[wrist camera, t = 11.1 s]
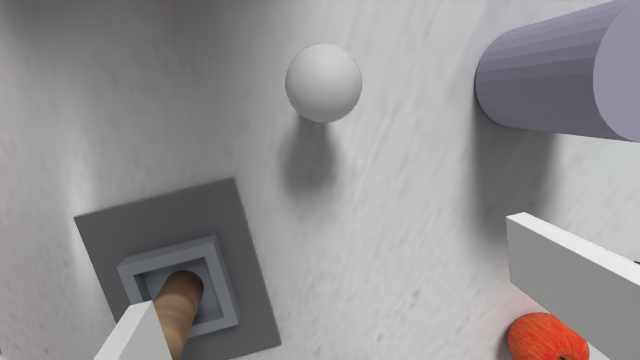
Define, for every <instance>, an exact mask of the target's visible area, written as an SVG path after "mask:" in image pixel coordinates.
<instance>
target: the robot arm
mask: <svg viewBox="0 0 640 360" xmlns="http://www.w3.org/2000/svg"><path fill="white" fill-rule="evenodd" d="M506 228H507V243H508V257H509V271H510V282H511V283H513V284H514V285H515V286H516V287H518V288H519V289H520V290H522V291H523V292H524V293H526V294H527V295H528V296H529V297H531V298H532V299H533V300H535V301H536V302H537V303H538V304H540V305H541V306H542V307H544V308H545V309H546V310H547V311H549V312H550V313H551V314H553V315H554V316H555V317H556V318H558V319H559V320H560V321H562V322H563V323H564V324H565V325H567V326H568V327H569V328H571V329H572V330H573V331H574V332H576V333H577V334H578V335H580V336H581V337H582V338H583V339H585V340H586V341H587V342H589V343H590V344H591V345H592V346H594V347H595V348H596V349H598V350H599V351H600V352H602V353H603V354H604V355H605V356H607V357H608V358H609V359H611V360H640V262H636V261H634V262H632V261H630V260H628V259H626V258H624V257H621V256H619V255H617V254H615V253H613V252H611V251H608V250H606V249H604V248H602V247H600V246H597V245H595V244H593V243H591V242H589V241H587V240H584V239H582V238H580V237H578V236H576V235H573V234H571V233H569V232H567V231H565V230H563V229H560V228H558V227H556V226H554V225H552V224H549V223H547V222H545V221H543V220H541V219H539V218H536V217H534V216H532V215H530V214H528V213H525V212H523V213H519V214H515V215H510V216H506ZM93 360H172V357H171V354H170V351H169V349H168V346H167V343H166V340H165V337H164V334H163V331H162V328H161V325H160V322H159V319H158V316H157V313H156V311H155V308H154V305H153V302H152V300H151V301H147V302H143V303H138V304H134V305H130V306H129V307H128V309H127V310H126V312H125V313H124V315H123V316H122V318H121V319H120V320H119V322H118V323H117V325H116V326H115V328H114V329H113V331H112V332H111V334H110V335H109V337H108V338H107V340H106V341H105V343H104V344H103V346H102V347H101V349H100V350H99V352H98V353H97V355H96V356H95V358H94V359H93Z"/></svg>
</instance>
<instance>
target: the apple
mask: <svg viewBox="0 0 640 360" xmlns="http://www.w3.org/2000/svg"><path fill="white" fill-rule="evenodd" d="M508 345H509V349H510V352H511V355H512V357H513V359H514V360H589V347H588V344H587V342H586V340H585V339H583V338H582V337H581V336H580V335H578V334H577V333H576V332H574V331H573V330H572V329H571V328H569V327H568V326H567V325H565V324H564V323H563V322H562V321H560V320H559V319H558V318H556V317H555V316H554V315H553V314H548V313H542V312H538V313H530V314H526V315H523V316H521V317H520V318H518V319H517V320H516V321H515V322H514V323H513V325H512V326H511V328H510V330H509V334H508Z"/></svg>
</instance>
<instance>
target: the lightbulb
mask: <svg viewBox="0 0 640 360" xmlns="http://www.w3.org/2000/svg"><path fill="white" fill-rule="evenodd" d="M285 87H286V93H287V96H288V99H289V101H290V103H291V105H292V106H293V108H294V109H295V110H296V111H297V112H298V113H299V114H300V115H302V116H303V117H305V118H307V119H309V120H311V121H314V122H318V123H328V122H334V121H337V120H339V119H341V118H343V117H344V116H346V115H347V114H348V113H349V112H350V111H351V110H352V109H353V108H354V107H355V105H356V104H357V102H358V100H359V97H360V94H361V90H362V76H361V72H360V68H359V66H358V64H357V62H356V60H355V59H354V58H353V57H352V56H351V54H349V53H348V52H347V51H346V50H344V49H342V48H341V47H339V46H336V45H333V44H326V43H320V44H314V45H311V46H309V47H307V48H305V49H303V50H302V51H300V52H299V53H298V54H297V55H296V56H295V57H294V59H293V60H292V62H291V63H290V66H289V68H288V70H287V74H286V80H285Z"/></svg>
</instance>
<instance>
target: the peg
mask: <svg viewBox="0 0 640 360" xmlns="http://www.w3.org/2000/svg"><path fill="white" fill-rule="evenodd" d="M203 292H204V284H203V281H202V279H201V278H200V277H199V276H198V275H197V274H196V273H194V272H192V271H188V270H180V271H177V272H174V273H173V274H171V275H170V276H169V277H168V278H167V280H166V281H165V283H164V285H163V287H162V288H161V290H160V292H159V293H158V295H157V297H156V299H155V300H154V302H153V305H154V308H155V311H156V313H157V316H158V319H159V322H160V325H161V328H162V331H163V334H164V337H165V340H166V343H167V346H168V349H169V351H170V354H171V357H172V360H179V359H180V357H181V354H182V351H183V348H184V345H185V343H186V340H187V337H188V334H189V331H190V328H191V326H192V323H193V320H194V317H195V314H196V311H197V309H198V306H199V303H200V300H201V297H202V295H203Z"/></svg>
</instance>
